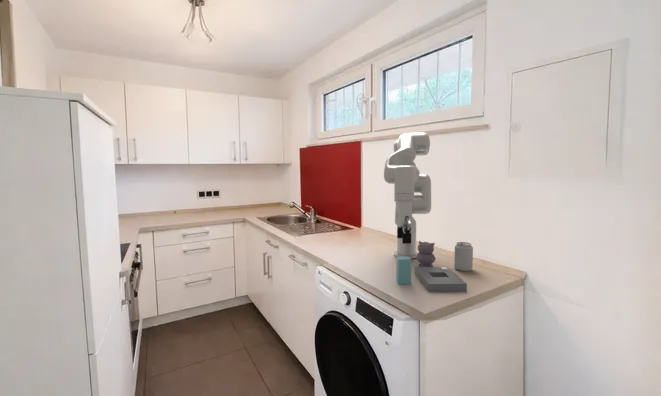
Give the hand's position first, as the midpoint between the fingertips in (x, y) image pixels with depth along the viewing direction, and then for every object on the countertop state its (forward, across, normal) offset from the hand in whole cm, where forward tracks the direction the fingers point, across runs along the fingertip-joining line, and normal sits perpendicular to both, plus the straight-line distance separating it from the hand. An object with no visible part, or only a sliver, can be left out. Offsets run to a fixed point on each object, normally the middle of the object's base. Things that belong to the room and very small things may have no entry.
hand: (403, 240), depth 125 cm
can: (+17, -16, +30) cm, 38 cm away
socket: (+17, 0, +14) cm, 22 cm away
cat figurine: (+17, -18, +14) cm, 29 cm away
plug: (+17, 0, 0) cm, 17 cm away
